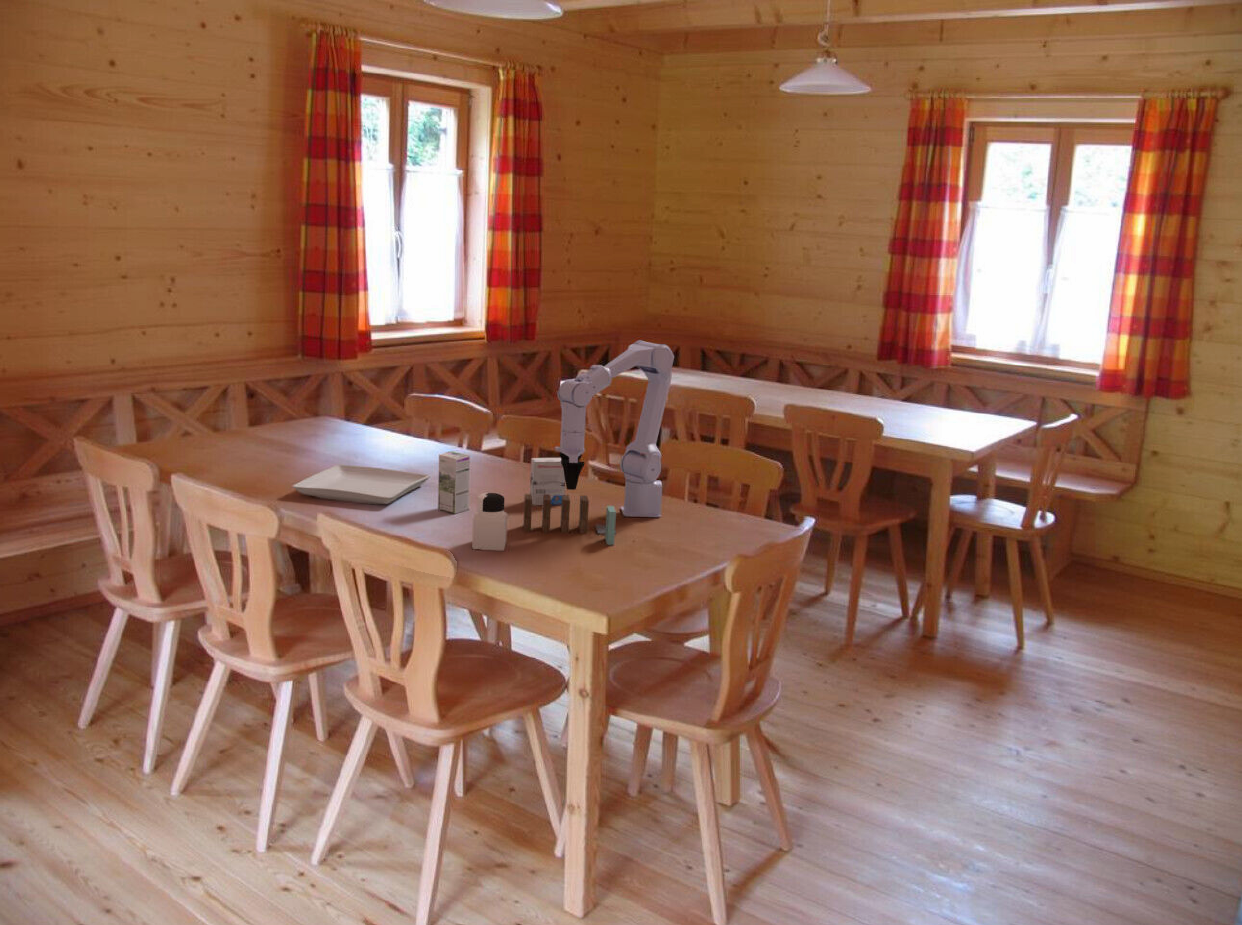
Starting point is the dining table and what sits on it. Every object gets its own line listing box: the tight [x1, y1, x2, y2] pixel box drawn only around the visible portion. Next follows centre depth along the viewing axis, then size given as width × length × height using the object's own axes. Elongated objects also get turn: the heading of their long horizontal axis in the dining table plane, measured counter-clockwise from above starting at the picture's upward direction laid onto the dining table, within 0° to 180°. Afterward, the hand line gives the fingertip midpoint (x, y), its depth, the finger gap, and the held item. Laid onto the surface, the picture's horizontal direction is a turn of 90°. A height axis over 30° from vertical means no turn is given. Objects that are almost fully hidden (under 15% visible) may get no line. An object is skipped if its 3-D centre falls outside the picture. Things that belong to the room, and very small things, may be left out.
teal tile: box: [604, 505, 617, 546], centre depth 256 cm, size 2×5×8 cm, turn 7°
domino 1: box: [522, 493, 533, 533], centre depth 262 cm, size 2×5×8 cm, turn 7°
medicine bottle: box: [471, 492, 508, 552], centre depth 247 cm, size 7×7×12 cm
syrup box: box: [437, 451, 471, 514], centre depth 274 cm, size 6×6×14 cm
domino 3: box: [560, 494, 571, 534], centre depth 263 cm, size 2×5×8 cm, turn 7°
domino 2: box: [541, 494, 552, 533], centre depth 263 cm, size 2×5×8 cm, turn 7°
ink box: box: [529, 457, 566, 506], centre depth 286 cm, size 9×5×12 cm, turn 105°
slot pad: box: [594, 524, 617, 536], centre depth 265 cm, size 4×7×1 cm, turn 7°
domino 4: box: [578, 495, 590, 534], centre depth 264 cm, size 2×5×8 cm, turn 7°
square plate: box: [291, 464, 431, 505], centre depth 287 cm, size 27×27×4 cm
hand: (570, 485), depth 265 cm, fingers open, 7 cm apart
